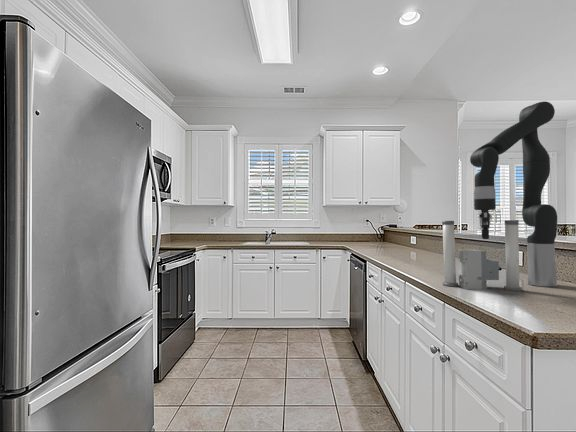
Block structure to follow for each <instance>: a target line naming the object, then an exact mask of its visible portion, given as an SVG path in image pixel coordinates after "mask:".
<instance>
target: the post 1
mask: <svg viewBox="0 0 576 432" xmlns="http://www.w3.org/2000/svg"><path fill="white" fill-rule="evenodd" d="M441 225H442V245H443V248H442V249H443V271H444V273H443V276H444V281H443V282H442V286H444V287H450V288H451V287H452V288H453V287H459V282H457V267H456V248H455V247H456V246H455V245H456V242H455V220H442V221H441Z"/></svg>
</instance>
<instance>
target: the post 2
mask: <svg viewBox="0 0 576 432" xmlns="http://www.w3.org/2000/svg"><path fill="white" fill-rule="evenodd" d="M504 239H505V241H504V242H505V243H504V244H505V245H504V246H505V248H504V249H505V252H504V253H505V254H504V255H505V285H504V286H503V290H505V291H509V292H522V291H523V287H522V286H520V247H519V246H520V243H519V242H520V240H519V219H518V220H517V219H516V220H515V219H512V220H511V219H510V220H509V219H507V220H504Z"/></svg>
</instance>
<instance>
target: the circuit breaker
mask: <svg viewBox="0 0 576 432" xmlns="http://www.w3.org/2000/svg"><path fill="white" fill-rule="evenodd" d="M457 254H458V255H457V257H458V261H459V263H460V273H458V287H461V288H462V289H463V290H466V289H467V290H487V287H488V286H487V285H488V284H487V281H500V273H499V271H503V270H502V269H503V268H502V267H500V265H499V260H497V259H492V258H487V251H486V250H482V249H458V253H457Z"/></svg>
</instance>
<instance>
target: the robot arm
mask: <svg viewBox="0 0 576 432" xmlns="http://www.w3.org/2000/svg"><path fill="white" fill-rule="evenodd" d="M554 107H555V106H554V105H553V104H552V103H551V102H550V101H539V102H535V103H533V104H531V105H528V106H526V107H524V108H522V109H521V110H520V113H519V114H518V115H519V116H518V122H516V123H514V124H513V125H512V126H510V127H507V128H506V129H504V130H503V131H501V132H500V133H499V134H497V135H496V136H495V137H494V138H492V139H491V140H490V141H489V142H487V143H485V144H483V145H481V146H480V147H478V148H477V149H475V150H474V151H473V152H472V153H471V155H470V157H469V161H470V164H471V165H472V166H473V167H475V168H480V170H479V171H478V172H477V173H475V175H474V190H473V206H474V207H473V209H474V210H475V211H481V213H480V214H479V215H478V219H479V225H480V228H481V238H482V239H483V240H489V239H490V228H491V218H492V214H490V212H489V211H495V210H496V209H497V207H496V201H497V200H496V187H495V186H496V185H495V183H496V182H495V175H496V172H497V168H498V166H499V165H498V163H499V159H500V158H499V157H500V156H499V155H502V154H504V153H505V152H507V151H508V150H510V148H511V147H513V146H514V145H515V144H517V143H518V142H519V141H520V140H521V143H522V144H521V146H522V147H521V148H522V173H523V197H522V198H523V201H522V211H521V217H522V221H523V222H524V224H526V226H527V227H528V226H529V227H534V229H533V232H532V233H531V234H530V235H528V236H527V237H526V245H527V246H526V249H527V250H526V254H527V257H526V258H527V284H528V285H531V286H535V287H536V286H537V287H558V282H557V281H558V280H557V277H558V276H557V262H556V253H555V250H556V249H555V248H556V247H555V241H556V238H557V235H558V213H557V210H556V208H555V207H554V206H553V205H550V204H548V203H546V204H542V193H543V190H544V187H545V185H546V183H547V181H548V179H549V176H550V172H551V158H550V155H549V153H548V151H547V149H546V148H545V147H544V146H543V144H542V142H540V140H539V136H538V135H539V134H538V128H540V127H541V126H544V125H546V124H547V123H549V122H550V121H552V120H553V118H554V116H555V111H556V110H555V108H554Z"/></svg>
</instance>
